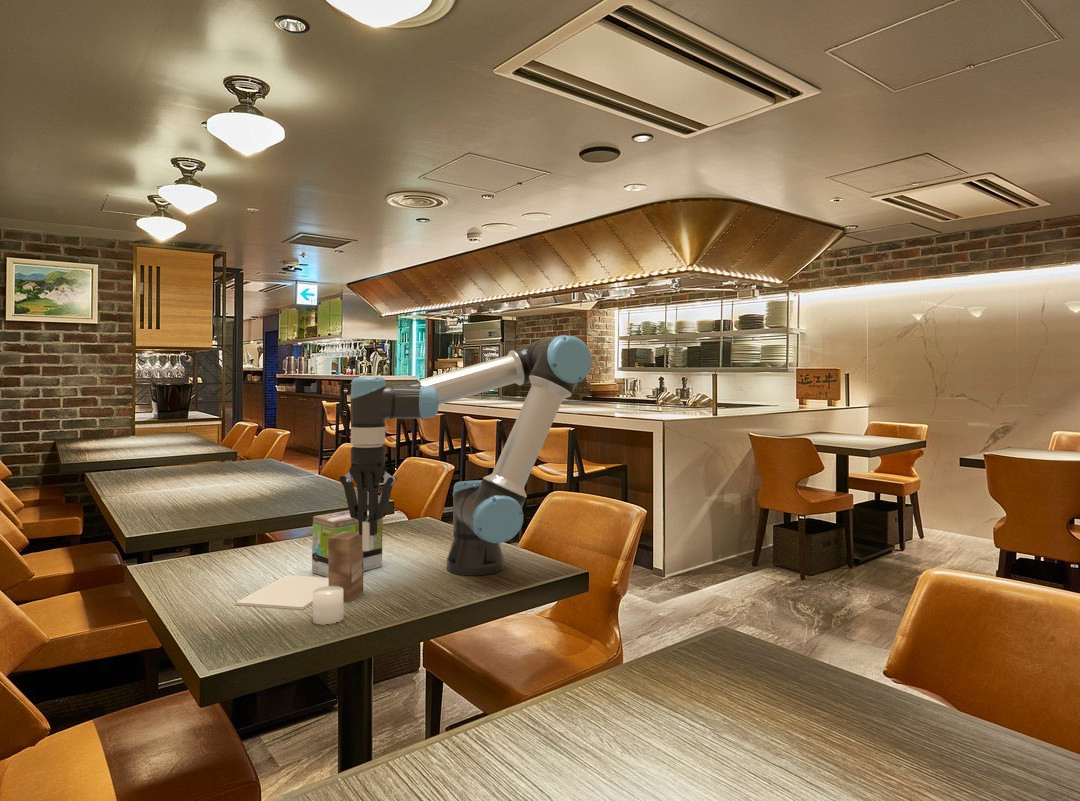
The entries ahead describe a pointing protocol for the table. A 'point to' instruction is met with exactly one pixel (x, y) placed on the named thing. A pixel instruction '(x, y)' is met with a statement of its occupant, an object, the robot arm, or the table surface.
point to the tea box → (333, 525)
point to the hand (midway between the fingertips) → (368, 549)
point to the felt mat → (286, 593)
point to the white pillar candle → (328, 605)
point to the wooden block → (346, 563)
